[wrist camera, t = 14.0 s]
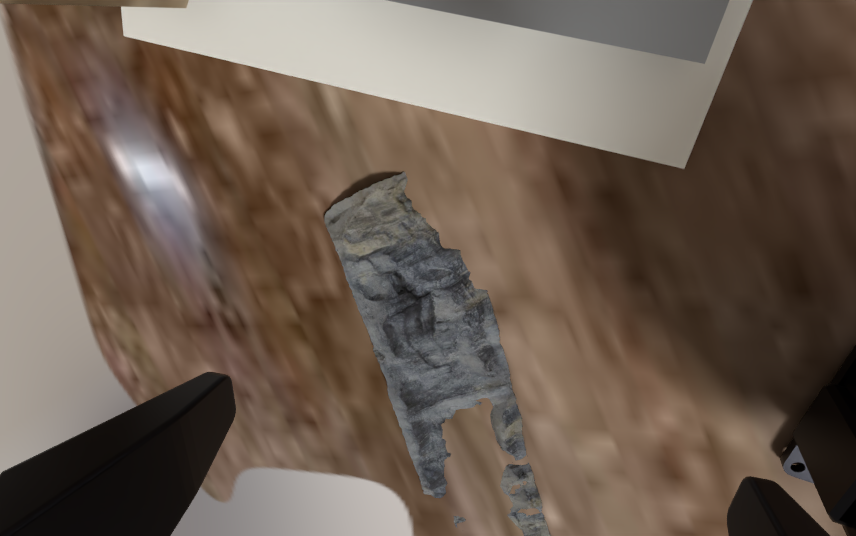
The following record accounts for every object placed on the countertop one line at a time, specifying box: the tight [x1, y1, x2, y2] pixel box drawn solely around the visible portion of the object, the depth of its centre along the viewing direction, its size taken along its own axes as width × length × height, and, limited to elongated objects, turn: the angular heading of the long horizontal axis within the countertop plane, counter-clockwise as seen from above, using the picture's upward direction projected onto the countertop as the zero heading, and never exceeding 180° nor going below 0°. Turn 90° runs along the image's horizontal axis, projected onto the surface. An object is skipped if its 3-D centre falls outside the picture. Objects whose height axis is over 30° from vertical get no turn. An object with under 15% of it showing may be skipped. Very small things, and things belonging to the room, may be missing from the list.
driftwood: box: [324, 172, 551, 536], centre depth 25 cm, size 21×7×2 cm, turn 15°
